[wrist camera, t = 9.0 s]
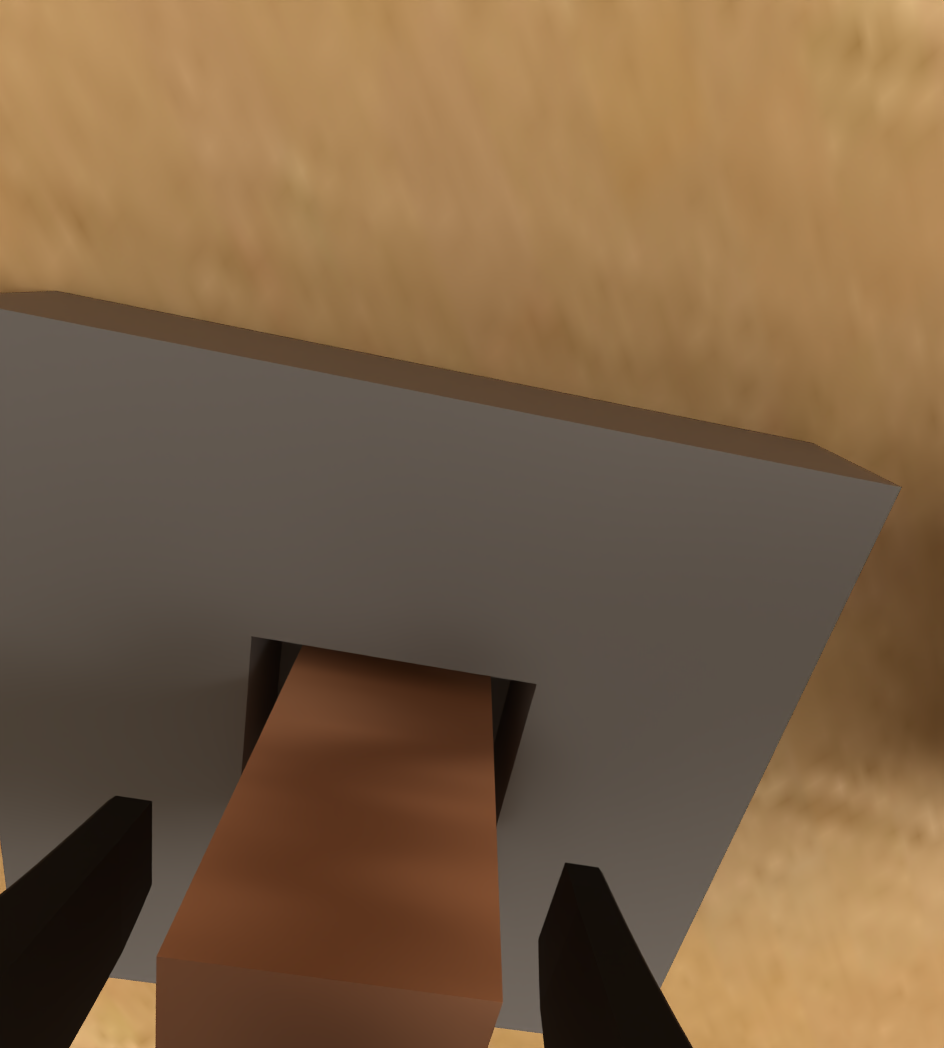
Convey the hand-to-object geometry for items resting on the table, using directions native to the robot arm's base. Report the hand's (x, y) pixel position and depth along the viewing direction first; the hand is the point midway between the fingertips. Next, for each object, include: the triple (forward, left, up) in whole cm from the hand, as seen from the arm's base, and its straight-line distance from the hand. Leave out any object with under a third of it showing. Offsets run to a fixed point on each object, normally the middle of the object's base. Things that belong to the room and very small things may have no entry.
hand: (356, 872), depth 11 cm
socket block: (0, 0, -5) cm, 5 cm away
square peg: (0, 0, -5) cm, 5 cm away
